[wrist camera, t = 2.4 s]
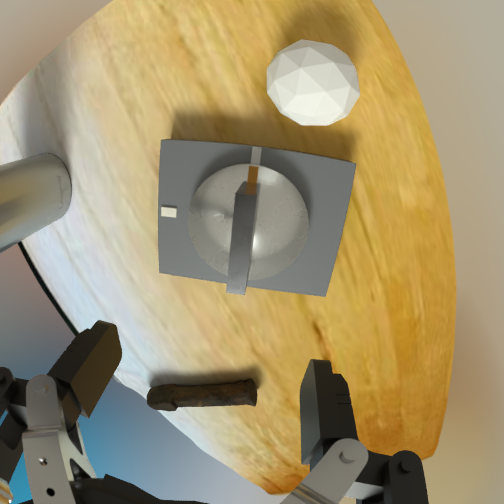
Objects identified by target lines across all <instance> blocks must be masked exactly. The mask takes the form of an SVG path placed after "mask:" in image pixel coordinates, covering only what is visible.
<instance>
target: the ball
mask: <svg viewBox="0 0 504 504" xmlns="http://www.w3.org/2000/svg"><path fill="white" fill-rule="evenodd" d="M267 94H268V95H269V97H270V98H271V100H272V101H273V103H274V104H275V106H276V107H277V109H278V110H279V112H280V113H281V114H283V115H285V116H286V117H288V118H290V119H292V120H293V121H295V122H297V123H299V124H300V125H324V126H328V125H330V124H332V123H334V122H336V121H338V120H340V119H343V118H345V117H347V116H348V114H349V112H350V111H351V109H352V107H353V106H354V104H355V102H356V101H357V99H358V98H359V96H360V89H359V82H358V75H357V72H356V68H355V66H354V64H353V63H352V61H351V60H350V58H349V57H348V56H347V54H346V53H344V52H343V51H341V50H340V49H338V48H337V47H335V46H333V45H332V44H327V43H322V42H316V41H310V40H303V39H301V40H299V41H297V42H295V43H293V44H291V45H290V46H288V47H286V48H284V49H282V50H280V51H278V53H277V54H276V56H275V57H274V59H273V60H272V62H271V63H270V65H269V66H268V68H267Z"/></svg>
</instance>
